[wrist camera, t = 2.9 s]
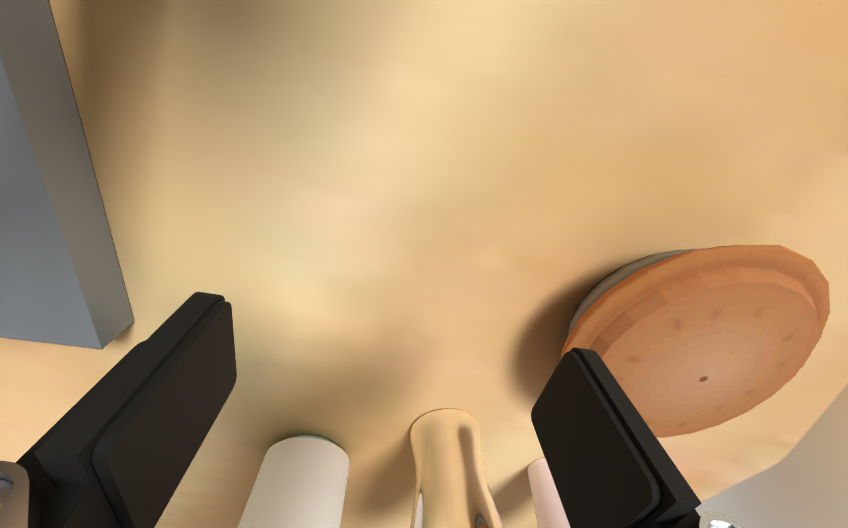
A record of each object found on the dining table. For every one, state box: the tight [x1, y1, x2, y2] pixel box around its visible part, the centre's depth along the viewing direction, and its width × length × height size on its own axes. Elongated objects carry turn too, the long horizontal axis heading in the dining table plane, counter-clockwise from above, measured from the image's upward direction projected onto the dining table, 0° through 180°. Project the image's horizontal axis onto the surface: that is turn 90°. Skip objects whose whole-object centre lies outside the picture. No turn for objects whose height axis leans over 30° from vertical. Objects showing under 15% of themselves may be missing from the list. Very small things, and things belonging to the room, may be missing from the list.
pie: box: [558, 245, 830, 438], centre depth 21 cm, size 16×16×5 cm
